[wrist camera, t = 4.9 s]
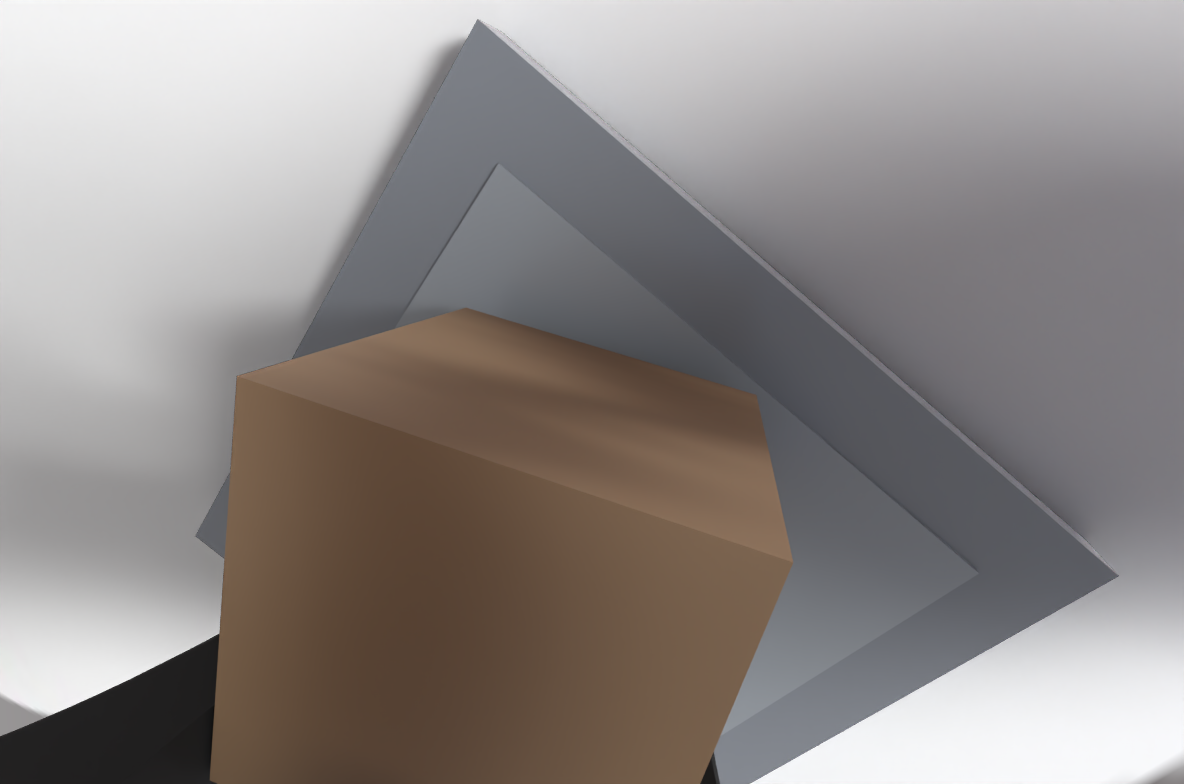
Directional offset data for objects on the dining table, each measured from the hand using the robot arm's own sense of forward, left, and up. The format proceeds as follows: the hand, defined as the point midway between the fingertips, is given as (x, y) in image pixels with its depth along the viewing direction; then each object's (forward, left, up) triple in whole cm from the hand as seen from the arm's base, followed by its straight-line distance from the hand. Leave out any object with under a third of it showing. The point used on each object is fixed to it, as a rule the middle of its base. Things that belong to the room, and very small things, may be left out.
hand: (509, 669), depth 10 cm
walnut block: (+1, -2, -2) cm, 3 cm away
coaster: (0, 0, -4) cm, 4 cm away
